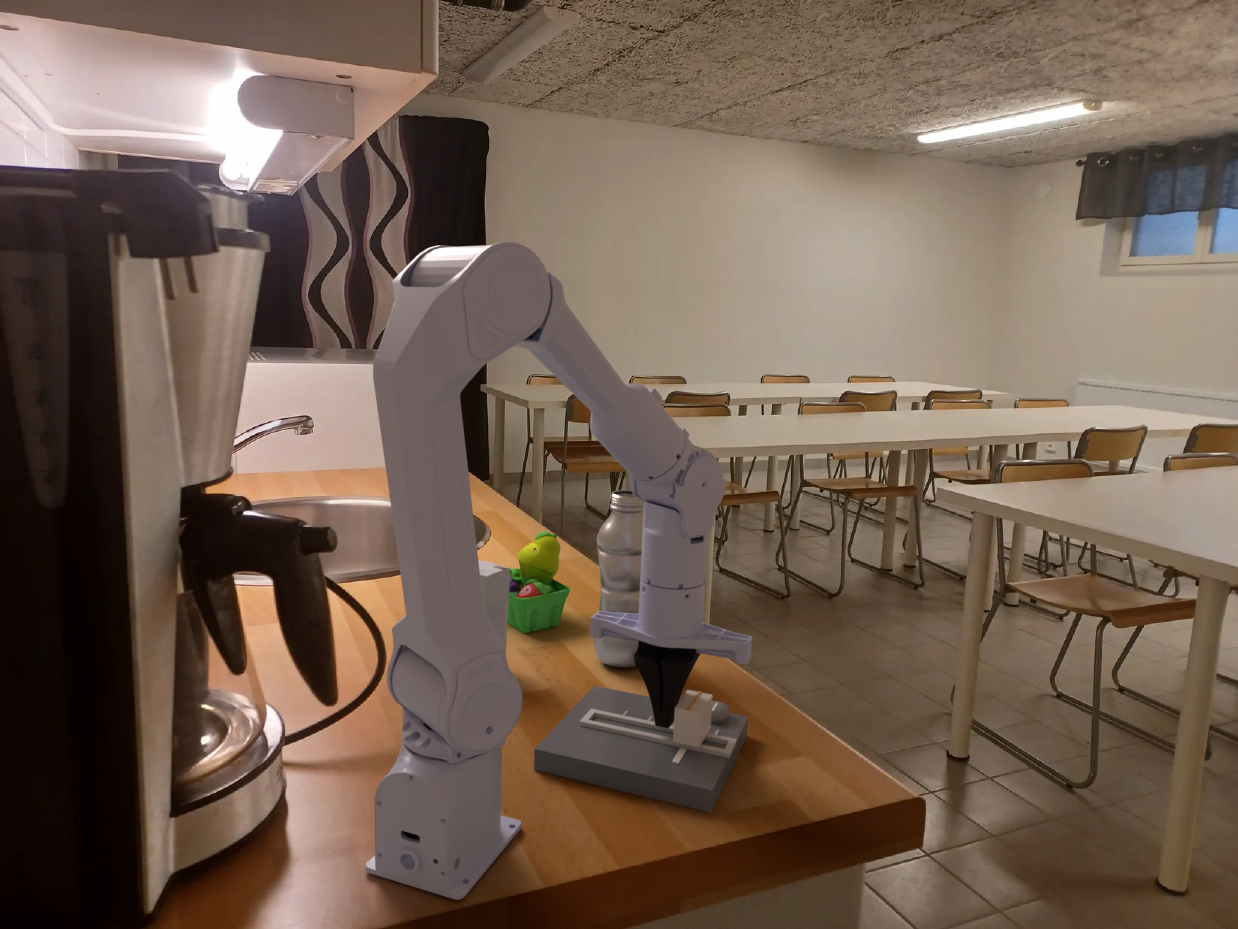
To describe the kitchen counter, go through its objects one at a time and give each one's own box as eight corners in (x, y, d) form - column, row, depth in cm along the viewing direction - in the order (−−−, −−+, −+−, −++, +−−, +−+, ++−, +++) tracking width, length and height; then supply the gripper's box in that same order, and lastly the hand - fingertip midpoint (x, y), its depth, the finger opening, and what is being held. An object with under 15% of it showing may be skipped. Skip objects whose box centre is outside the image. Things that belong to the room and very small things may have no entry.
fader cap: (698, 751, 75) (701, 712, 74) (672, 746, 76) (674, 707, 75) (710, 731, 79) (712, 693, 78) (685, 726, 80) (687, 688, 79)
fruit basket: (476, 611, 113) (477, 528, 111) (533, 600, 119) (535, 520, 117) (520, 639, 105) (521, 550, 103) (580, 626, 110) (583, 540, 108)
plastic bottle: (645, 677, 95) (654, 502, 92) (586, 670, 96) (592, 496, 93) (654, 655, 101) (663, 490, 98) (599, 648, 103) (605, 485, 99)
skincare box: (440, 671, 95) (440, 565, 93) (466, 657, 99) (467, 555, 96) (484, 684, 92) (485, 576, 90) (509, 670, 96) (511, 565, 93)
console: (712, 813, 70) (714, 778, 69) (534, 769, 75) (534, 737, 75) (747, 736, 83) (750, 706, 82) (593, 703, 88) (594, 675, 88)
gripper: (763, 578, 77) (752, 719, 79) (611, 556, 82) (606, 689, 84) (746, 602, 70) (735, 754, 73) (583, 577, 75) (578, 720, 78)
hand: (665, 722), depth 78 cm, fingers closed
